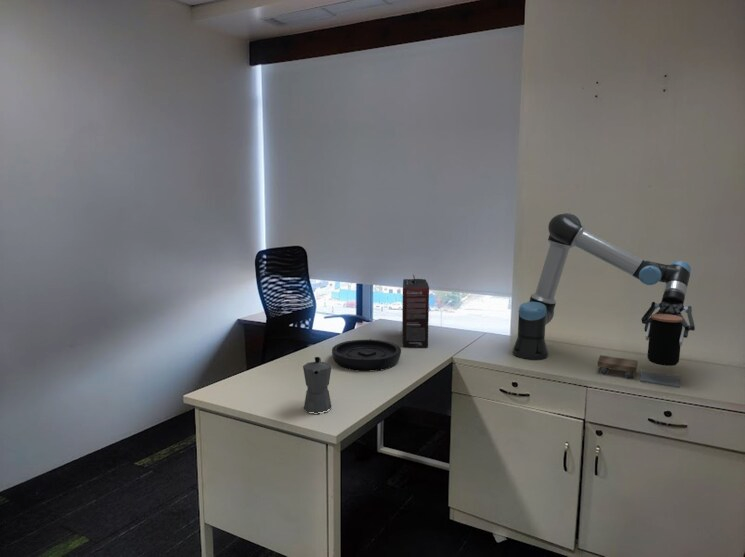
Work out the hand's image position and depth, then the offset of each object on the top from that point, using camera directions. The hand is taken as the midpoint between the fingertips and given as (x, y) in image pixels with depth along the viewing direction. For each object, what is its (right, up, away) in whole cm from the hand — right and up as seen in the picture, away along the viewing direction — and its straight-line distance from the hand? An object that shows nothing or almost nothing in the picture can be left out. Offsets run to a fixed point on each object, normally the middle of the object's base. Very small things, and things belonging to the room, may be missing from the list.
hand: (663, 340), depth 188 cm
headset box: (-90, -7, +58) cm, 107 cm away
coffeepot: (-130, -20, -23) cm, 133 cm away
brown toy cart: (-12, -15, +12) cm, 22 cm away
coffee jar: (+2, -9, +4) cm, 10 cm away
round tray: (-114, -12, +27) cm, 118 cm away
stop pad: (+1, -16, +5) cm, 17 cm away
